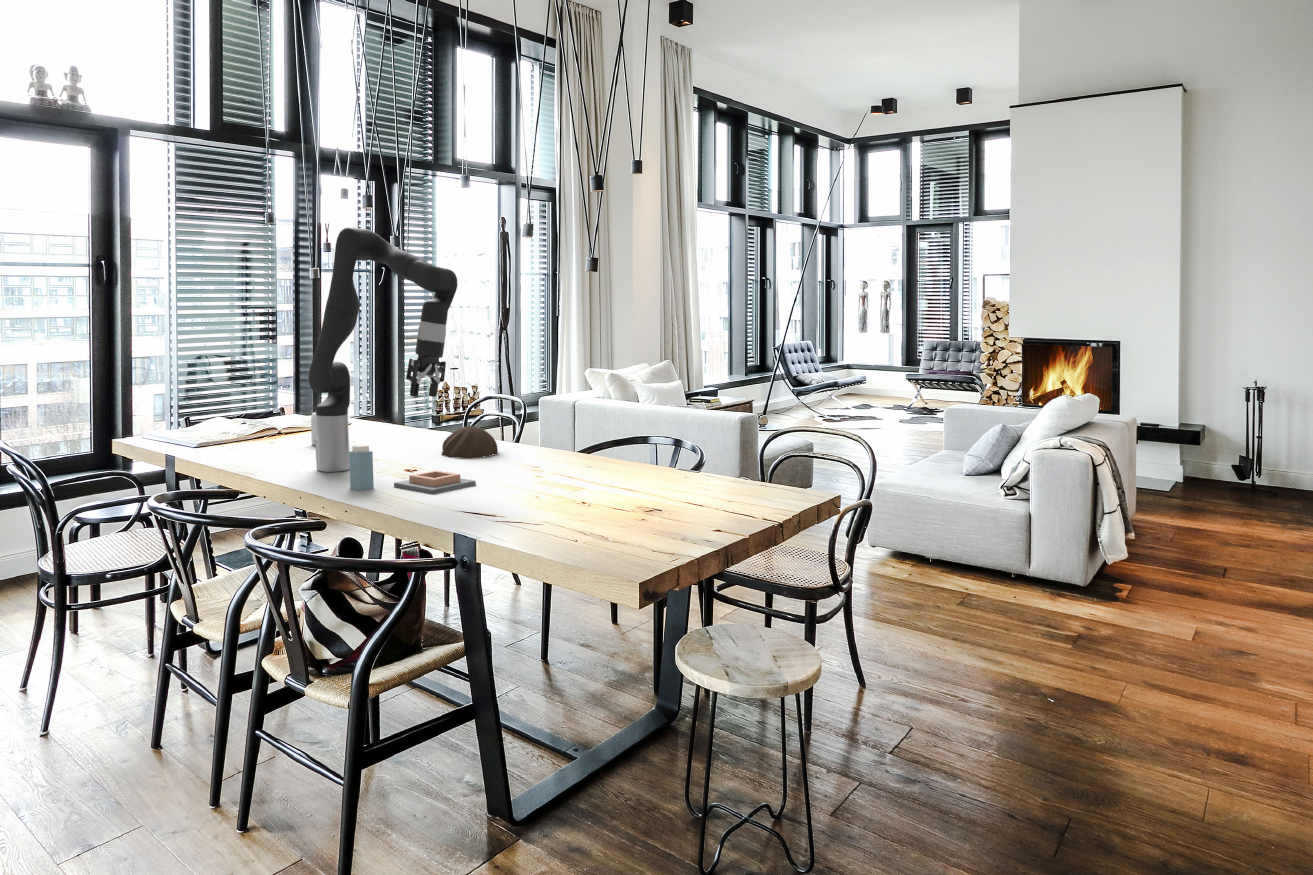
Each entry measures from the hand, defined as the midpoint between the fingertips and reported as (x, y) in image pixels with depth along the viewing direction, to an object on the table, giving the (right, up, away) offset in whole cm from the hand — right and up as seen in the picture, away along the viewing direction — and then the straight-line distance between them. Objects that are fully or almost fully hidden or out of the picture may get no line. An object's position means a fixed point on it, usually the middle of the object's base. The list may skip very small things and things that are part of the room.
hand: (423, 396), depth 251 cm
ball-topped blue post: (-17, -26, -1) cm, 31 cm away
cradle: (+2, -25, +4) cm, 26 cm away
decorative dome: (+1, -17, +60) cm, 63 cm away
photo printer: (-55, -14, +76) cm, 95 cm away
